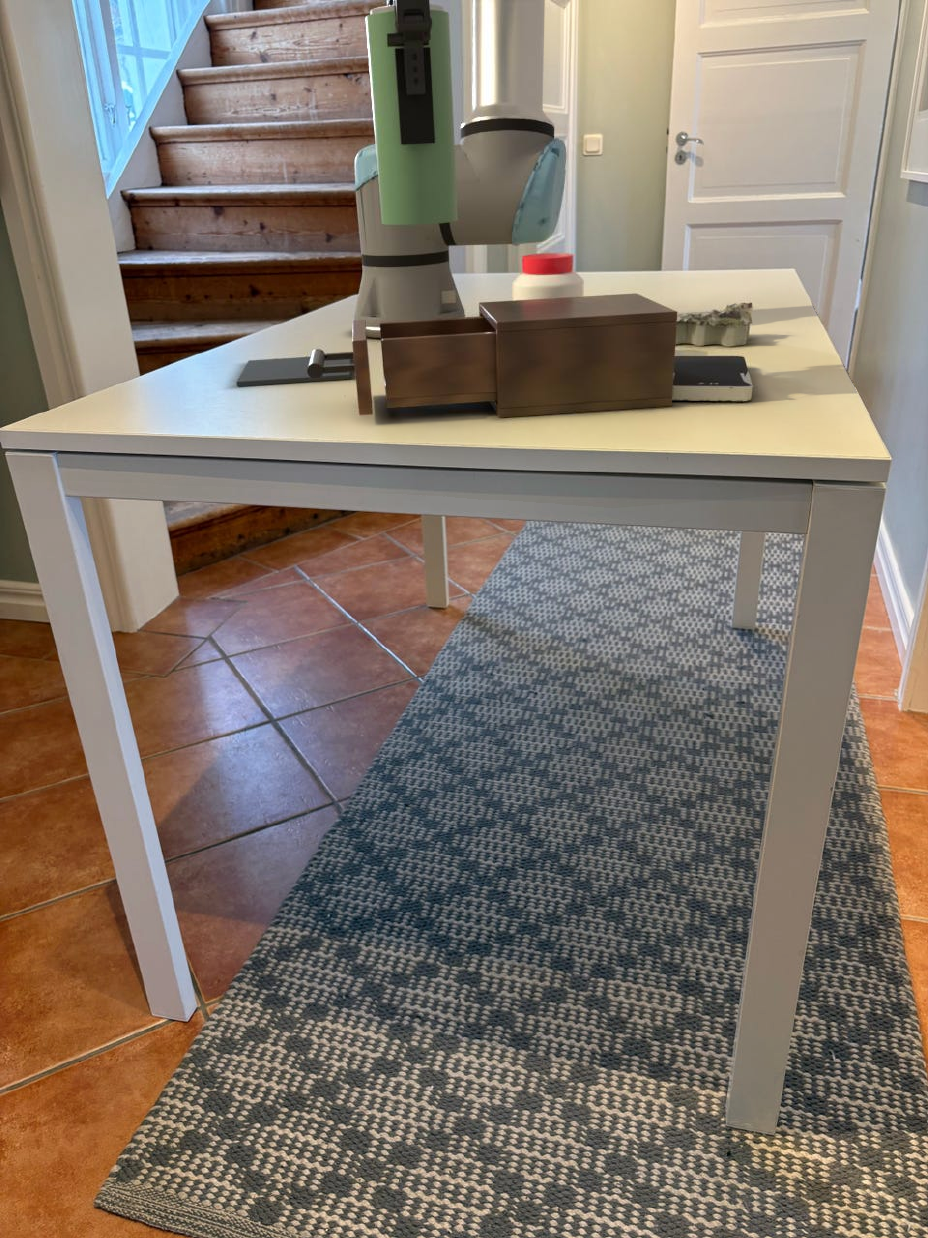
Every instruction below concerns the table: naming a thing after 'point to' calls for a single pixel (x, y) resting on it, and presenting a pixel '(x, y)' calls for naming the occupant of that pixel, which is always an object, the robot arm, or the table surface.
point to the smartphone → (711, 378)
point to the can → (410, 173)
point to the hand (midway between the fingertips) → (415, 143)
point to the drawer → (422, 362)
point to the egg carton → (716, 326)
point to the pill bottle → (547, 277)
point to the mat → (285, 371)
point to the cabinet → (582, 354)
